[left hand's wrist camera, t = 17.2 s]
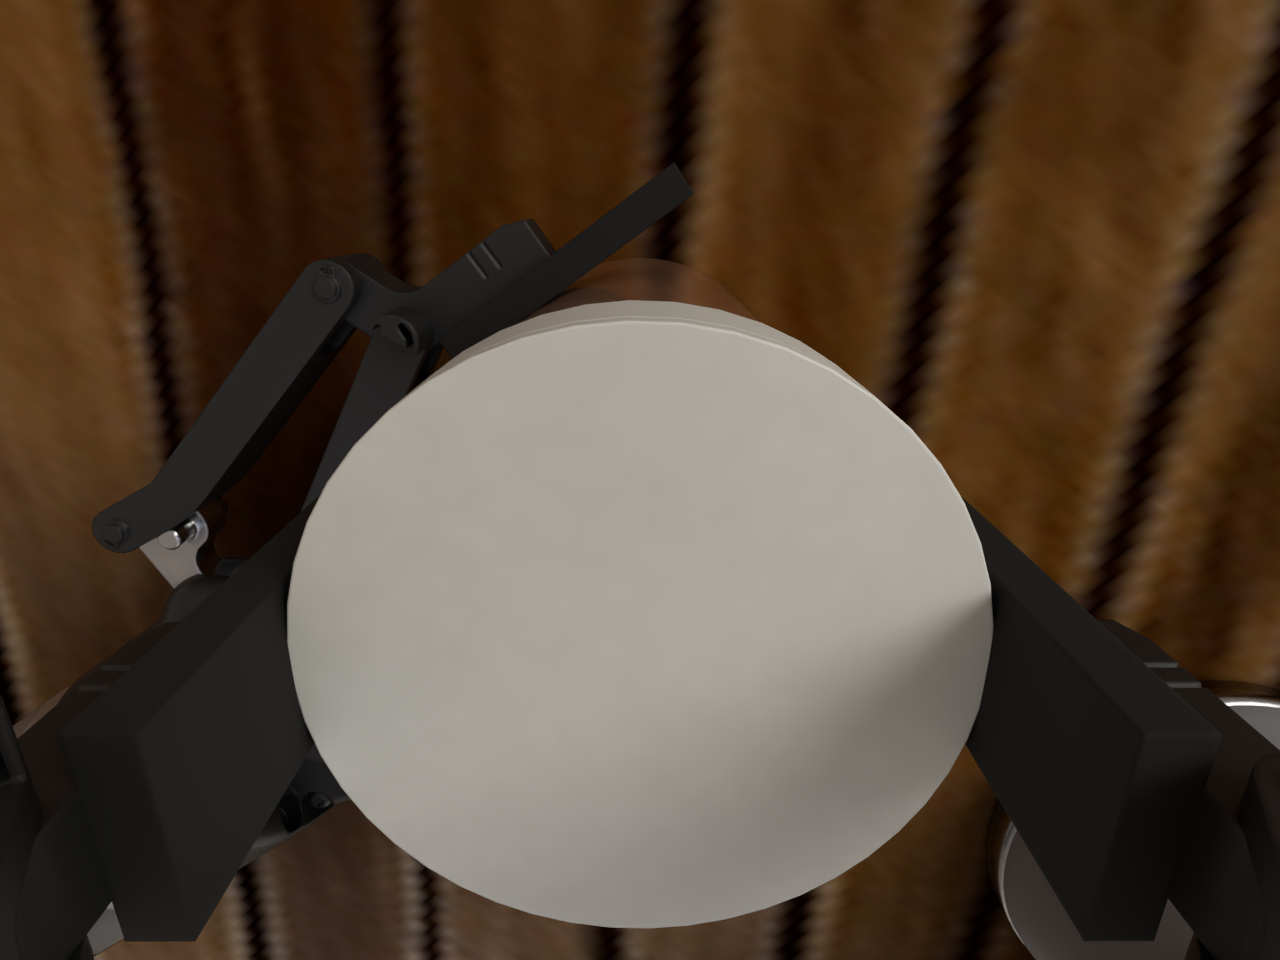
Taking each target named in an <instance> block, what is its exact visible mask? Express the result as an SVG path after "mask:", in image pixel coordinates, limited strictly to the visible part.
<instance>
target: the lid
mask: <svg viewBox="0 0 1280 960" xmlns="http://www.w3.org/2000/svg"><path fill="white" fill-rule="evenodd" d="M993 628H994V623H993V609H992V596H991V583H990V579H989V575H988V571H987V566H986V562H985V558H984V554H983V549H982V545H981V542H980V539H979V537H978V534H977V532H976V530H975V527H974V525H973V522H972V520H971V517H970V515H969V512H968V510H967V508H966V505H965V503H964V501H963V499H962V498H961V496H960V495H959V493H958V491H957V490H956V488H955V486H954V485H953V483H952V481H951V480H950V478H949V476H948V475H947V473H946V471H945V470H944V468H943V466H942V465H941V464H940V462H939V461H938V460H937V459H936V458H935V456H934V455H933V454H932V453H931V452H930V450H929V449H928V448H927V447H926V446H925V444H924V443H923V442H922V441H921V440H920V438H919V437H918V436H917V435H916V434H915V432H914V431H913V430H912V429H911V428H910V427H909V426H908V425H907V424H905V423H904V422H903V421H902V420H901V419H900V418H899V417H898V416H896V415H895V414H894V413H893V412H892V411H891V410H890V409H889V408H887V407H886V406H885V405H884V404H883V403H882V402H881V401H880V400H878V399H877V398H876V397H875V396H874V395H873V394H871V393H870V392H869V391H868V390H866V389H865V388H864V387H863V386H862V385H860V384H859V383H858V382H857V381H855V380H854V379H853V378H852V377H850V376H849V375H848V374H847V373H846V372H844V371H843V370H842V369H841V368H839V367H838V366H837V365H836V364H834V363H833V362H831V361H830V360H828V359H827V358H825V357H824V356H822V355H821V354H819V353H818V352H816V351H814V350H813V349H811V348H810V347H808V346H807V345H805V344H804V343H802V342H801V341H799V340H797V339H795V338H792V337H790V336H788V335H786V334H784V333H782V332H780V331H778V330H776V329H773V328H771V327H769V326H767V325H765V324H763V323H761V322H757V321H754V320H751V319H748V318H745V317H742V316H738V315H735V314H732V313H729V312H726V311H723V310H719V309H714V308H708V307H702V306H696V305H691V304H685V303H679V302H667V301H639V300H626V301H616V302H606V303H595V304H585V305H581V306H576V307H572V308H568V309H564V310H560V311H555V312H551V313H547V314H543V315H539V316H537V317H534V318H532V319H529V320H527V321H524V322H521V323H519V324H516V325H514V326H511V327H508V328H506V329H503V330H501V331H499V332H497V333H495V334H493V335H491V336H490V337H488V338H486V339H484V340H482V341H481V342H479V343H477V344H475V345H473V346H472V347H470V348H468V349H466V350H464V351H463V352H461V353H460V354H459V355H457V356H456V357H455V358H453V359H452V360H451V361H449V362H448V363H447V364H445V365H444V366H443V367H441V368H440V369H439V370H437V371H436V372H435V373H433V374H432V375H431V376H429V377H428V378H427V379H426V380H425V381H423V382H422V383H421V384H420V385H418V386H417V387H416V388H415V389H414V390H412V391H411V392H410V393H409V394H408V395H406V396H405V397H404V398H403V399H401V400H400V401H399V402H398V403H397V404H395V405H394V406H393V407H392V408H390V409H389V410H388V411H387V412H386V413H385V414H384V415H383V416H382V417H381V418H380V419H379V420H378V421H377V422H376V423H375V424H374V425H373V426H372V427H371V428H370V429H369V430H368V431H367V432H366V433H365V434H364V435H363V436H362V437H361V438H360V439H359V440H358V441H357V442H356V443H355V444H354V446H353V447H352V448H351V450H350V451H349V452H348V454H347V455H346V457H345V458H344V459H343V461H342V462H341V464H340V465H339V466H338V468H337V469H336V470H335V472H334V473H333V475H332V476H331V477H330V479H329V480H328V481H327V483H326V485H325V487H324V489H323V491H322V493H321V495H320V497H319V499H318V501H317V503H316V505H315V507H314V509H313V510H312V512H311V514H310V516H309V518H308V520H307V523H306V526H305V529H304V532H303V535H302V538H301V541H300V544H299V547H298V550H297V553H296V556H295V559H294V563H293V569H292V575H291V582H290V588H289V594H288V600H287V644H288V650H289V655H290V661H291V666H292V672H293V677H294V683H295V688H296V692H297V697H298V701H299V705H300V708H301V712H302V715H303V718H304V721H305V723H306V725H307V728H308V730H309V732H310V734H311V736H312V738H313V740H314V742H315V745H316V747H317V749H318V751H319V753H320V755H321V757H322V758H323V760H324V762H325V763H326V765H327V766H328V768H329V769H330V771H331V772H332V774H333V775H334V777H335V779H336V780H337V782H338V783H339V785H340V786H341V788H342V789H343V790H344V791H345V793H346V794H347V795H348V796H349V797H350V799H351V800H352V801H353V802H354V803H355V804H356V806H357V807H358V808H359V809H360V810H361V812H362V813H363V814H364V815H365V816H366V817H367V818H368V819H369V820H370V821H371V822H372V823H373V824H374V825H375V826H376V827H377V828H378V829H379V830H381V831H382V832H383V833H384V834H385V835H386V836H387V837H388V838H389V839H390V840H391V841H392V842H393V843H395V844H396V845H397V846H399V847H400V848H401V849H403V850H404V851H405V852H407V853H408V854H409V855H411V856H412V857H414V858H415V859H416V860H418V861H419V862H420V863H422V864H423V865H424V866H426V867H427V868H429V869H431V870H433V871H434V872H436V873H438V874H440V875H441V876H443V877H445V878H447V879H448V880H450V881H452V882H453V883H455V884H457V885H459V886H461V887H463V888H465V889H467V890H470V891H472V892H474V893H476V894H479V895H481V896H483V897H485V898H488V899H490V900H492V901H494V902H497V903H500V904H503V905H506V906H509V907H512V908H515V909H519V910H522V911H525V912H528V913H531V914H534V915H539V916H543V917H548V918H552V919H557V920H562V921H566V922H571V923H579V924H587V925H595V926H603V927H618V928H660V927H674V926H688V925H694V924H700V923H706V922H712V921H718V920H724V919H729V918H733V917H736V916H740V915H744V914H747V913H751V912H755V911H759V910H762V909H766V908H768V907H771V906H773V905H776V904H779V903H781V902H784V901H787V900H789V899H792V898H794V897H797V896H800V895H802V894H804V893H806V892H808V891H810V890H812V889H814V888H816V887H818V886H820V885H822V884H824V883H826V882H828V881H830V880H832V879H834V878H836V877H837V876H839V875H841V874H842V873H844V872H845V871H847V870H848V869H850V868H851V867H853V866H854V865H856V864H858V863H859V862H861V861H862V860H864V859H865V858H867V857H868V856H870V855H871V854H872V853H873V852H875V851H876V850H877V849H878V848H879V847H881V846H882V845H883V844H884V843H886V842H887V841H888V840H889V839H890V838H892V837H893V836H894V835H895V834H897V833H898V832H899V831H900V830H901V829H902V828H903V827H904V826H905V825H906V824H907V823H908V822H909V820H910V819H911V818H912V817H913V816H914V815H915V814H916V813H917V812H918V811H919V810H920V809H921V808H922V807H923V806H924V805H925V804H926V803H927V801H928V800H929V799H930V797H931V796H932V795H933V793H934V792H935V791H936V789H937V788H938V787H939V785H940V784H941V783H942V781H943V780H944V779H945V777H946V776H947V775H948V773H949V771H950V770H951V768H952V766H953V764H954V762H955V761H956V759H957V757H958V755H959V754H960V752H961V750H962V748H963V746H964V745H965V743H966V741H967V739H968V737H969V734H970V732H971V729H972V727H973V724H974V721H975V719H976V716H977V714H978V711H979V707H980V702H981V698H982V693H983V687H984V682H985V677H986V672H987V667H988V661H989V656H990V650H991V644H992V638H993Z"/></svg>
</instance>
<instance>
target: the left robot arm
mask: <svg viewBox="0 0 1280 960" xmlns="http://www.w3.org/2000/svg"><path fill="white" fill-rule="evenodd" d="M320 495H321V494H320ZM320 495H319V496H318V497H317V498H316V499H315V500H314V501H312V502H311V503H310V504H309V505H308V506H307V507H306V508H305V509H304V510H303V511H301V512H300V513H299V514H298V515H297V516H296V517H295V518H294V519H293V520H292V521H290V522H289V523H288V524H287V525H286V526H285V527H284V528H283V529H282V530H281V531H280V532H278V533H277V534H276V535H275V536H274V537H273V538H272V539H271V540H270V541H269V542H267V543H266V544H265V545H264V546H263V547H262V548H261V549H260V550H259V551H258V552H256V553H255V554H254V555H253V556H252V557H251V558H250V559H249V560H248V561H247V562H245V563H244V564H243V565H242V566H241V567H240V568H239V569H238V570H237V571H236V572H235V573H233V574H232V575H231V576H230V577H229V578H228V579H227V580H226V581H225V582H224V583H222V584H221V585H220V586H219V587H218V588H217V589H216V590H215V591H214V592H213V593H211V594H210V595H209V596H208V597H207V598H206V599H205V600H204V601H203V602H202V603H200V604H199V605H198V606H197V607H196V608H195V609H194V610H193V611H192V612H191V613H190V614H188V615H187V616H186V617H185V618H184V619H183V620H182V621H181V622H167V623H165V624H163V625H161V626H159V627H157V628H156V629H154V630H152V631H150V632H148V633H146V634H144V635H142V636H140V637H139V638H137V639H135V640H133V641H131V642H129V643H128V644H127V645H126V646H125V647H123V648H122V649H121V650H120V651H119V652H118V653H116V654H115V655H114V656H113V657H112V658H111V659H109V660H108V661H107V662H106V663H105V664H104V665H102V669H101V671H95V672H94V673H93V674H92V675H91V676H90V677H89V678H87V679H86V680H85V681H84V682H83V683H82V684H80V685H79V689H78V691H72V692H71V693H70V694H69V695H68V696H66V697H65V698H64V699H63V700H62V701H61V702H59V703H58V704H57V705H56V706H55V707H54V708H52V709H51V710H50V711H49V712H48V713H47V714H45V715H44V716H43V717H42V718H41V719H40V720H39V721H37V722H36V723H35V724H34V725H33V726H32V727H30V728H29V729H28V730H27V731H26V732H25V733H23V734H22V735H21V736H20V737H19V738H18V739H17V737H16V734H15V732H14V729H13V726H12V723H11V720H10V718H9V715H8V712H7V709H6V706H5V704H4V701H3V698H2V696H1V695H0V960H94V957H93V950H92V947H91V944H90V942H89V939H88V936H87V934H88V932H89V931H90V930H91V928H92V927H93V926H94V924H95V923H96V922H97V920H98V919H99V918H100V916H101V915H102V914H103V912H104V911H105V910H106V908H107V907H108V906H109V904H110V903H111V902H112V904H113V907H114V910H115V913H116V916H117V919H118V922H119V925H120V928H121V931H122V934H123V937H124V940H125V941H196V939H197V937H198V936H199V934H200V932H201V931H202V929H203V927H204V926H205V924H206V922H207V921H208V919H209V917H210V916H211V914H212V912H213V911H214V909H215V907H216V906H217V904H218V902H219V901H220V899H221V897H222V896H223V894H224V892H225V891H226V889H227V887H228V886H229V884H230V883H231V881H232V879H233V878H234V876H235V874H236V873H237V871H238V869H239V868H240V866H241V864H242V863H243V861H244V859H245V858H246V856H247V854H248V853H249V851H250V849H251V848H252V846H253V844H254V843H255V841H256V839H257V838H258V836H259V834H260V833H261V831H262V829H263V828H264V826H265V824H266V823H267V821H268V819H269V818H270V816H271V814H272V813H273V811H274V809H275V808H276V806H277V804H278V803H279V801H280V799H281V798H282V796H283V794H284V793H285V791H286V789H287V788H288V786H289V785H290V783H291V781H292V780H293V778H294V776H295V775H296V773H297V771H298V770H299V768H300V766H301V765H302V763H303V761H304V760H305V758H306V756H307V755H308V753H309V751H310V750H311V748H312V746H313V745H314V743H315V742H314V740H313V738H312V736H311V734H310V732H309V730H308V728H307V725H306V723H305V721H304V718H303V715H302V712H301V708H300V705H299V701H298V697H297V692H296V688H295V683H294V677H293V672H292V666H291V661H290V655H289V650H288V644H287V600H288V594H289V588H290V582H291V575H292V569H293V563H294V559H295V556H296V553H297V550H298V547H299V544H300V541H301V538H302V535H303V532H304V529H305V526H306V523H307V520H308V518H309V516H310V514H311V512H312V510H313V509H314V507H315V505H316V503H317V501H318V499H319V497H320ZM961 498H962V497H961ZM962 499H963V498H962ZM963 501H964V503H965V505H966V508H967V510H968V512H969V515H970V517H971V520H972V522H973V525H974V527H975V530H976V532H977V534H978V537H979V539H980V542H981V545H982V549H983V554H984V558H985V562H986V566H987V571H988V575H989V579H990V583H991V596H992V609H993V623H994V628H993V638H992V644H991V650H990V656H989V661H988V667H987V672H986V677H985V682H984V687H983V693H982V698H981V702H980V707H979V711H978V714H977V716H976V719H975V721H974V724H973V727H972V729H971V732H970V734H969V737H968V739H967V741H966V743H965V744H966V746H967V748H968V749H969V751H970V753H971V754H972V756H973V758H974V759H975V761H976V763H977V764H978V766H979V768H980V769H981V771H982V773H983V774H984V776H985V778H986V779H987V781H988V783H989V784H990V786H991V788H992V789H993V791H994V793H995V794H996V796H997V798H998V799H999V801H1000V803H999V805H998V807H997V809H996V811H995V814H994V817H993V820H992V823H991V826H990V830H989V836H988V841H987V868H988V873H989V878H990V881H991V884H992V887H993V890H994V892H995V894H996V896H997V898H998V900H999V902H1000V904H1001V906H1002V908H1003V910H1004V912H1005V914H1006V916H1007V918H1008V919H1009V921H1010V923H1011V925H1012V927H1013V929H1014V931H1015V933H1016V934H1017V935H1018V937H1019V938H1020V940H1021V941H1022V942H1023V944H1024V945H1025V946H1026V947H1027V949H1028V950H1029V952H1030V953H1031V954H1032V956H1033V957H1034V958H1035V959H1036V960H1280V690H1278V689H1274V688H1271V687H1267V686H1263V685H1258V684H1252V683H1246V682H1235V681H1198V680H1197V679H1196V678H1195V677H1194V676H1192V675H1191V674H1190V673H1189V672H1188V671H1187V670H1185V669H1184V668H1179V667H1178V663H1177V662H1176V661H1175V660H1174V659H1172V658H1171V657H1170V656H1169V655H1168V654H1167V653H1165V652H1164V651H1163V650H1162V649H1161V648H1160V647H1158V646H1157V645H1156V644H1155V643H1154V642H1153V641H1151V640H1150V639H1148V638H1146V637H1144V636H1142V635H1141V634H1139V633H1137V632H1135V631H1133V630H1131V629H1129V628H1127V627H1125V626H1123V625H1122V624H1120V623H1118V622H1116V621H1114V620H1096V619H1095V618H1094V617H1093V616H1092V615H1091V614H1090V613H1088V612H1087V611H1086V610H1085V609H1084V608H1083V607H1082V606H1081V605H1080V604H1079V603H1077V602H1076V601H1075V600H1074V599H1073V598H1072V597H1071V596H1070V595H1069V594H1068V593H1067V592H1065V591H1064V590H1063V589H1062V588H1061V587H1060V586H1059V585H1058V584H1057V583H1056V582H1054V581H1053V580H1052V579H1051V578H1050V577H1049V576H1048V575H1047V574H1046V573H1045V572H1043V571H1042V570H1041V569H1040V568H1039V567H1038V566H1037V565H1036V564H1035V563H1034V562H1033V561H1031V560H1030V559H1029V558H1028V557H1027V556H1026V555H1025V554H1024V553H1023V552H1022V551H1020V550H1019V549H1018V548H1017V547H1016V546H1015V545H1014V544H1013V543H1012V542H1011V541H1009V540H1008V539H1007V538H1006V537H1005V536H1004V535H1003V534H1002V533H1001V532H1000V531H998V530H997V529H996V528H995V527H994V526H993V525H992V524H991V523H990V522H989V521H988V520H986V519H985V518H984V517H983V516H982V515H981V514H980V513H979V512H978V511H977V510H975V509H974V508H973V507H972V506H971V505H970V504H969V503H968V502H967V501H966V500H964V499H963Z"/></svg>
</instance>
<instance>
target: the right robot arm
mask: <svg viewBox="0 0 1280 960" xmlns="http://www.w3.org/2000/svg"><path fill="white" fill-rule="evenodd" d="M693 194H694V193H693V191H692V190H691V188H690V187H689V185H688V183H687V182H686V180H685V179H684V177H683V176H682V174H681V172H680V171H679V169H678V168H677V166H676V164H675V163H673V164H672V165H670V166H669V167H668V168H666V169H665V170H664V171H662V172H661V173H660V174H658V175H657V176H656V177H654V178H653V179H652V180H650V181H649V182H648V183H646V184H645V185H644V186H642V187H641V188H640V189H638V190H637V191H636V192H634V193H633V194H632V195H630V196H629V197H628V198H626V199H625V200H624V201H622V202H621V203H620V204H618V205H617V206H616V207H615V208H613V209H612V210H611V211H609V212H608V213H607V214H605V215H604V216H603V217H601V218H600V219H599V220H597V221H596V222H595V223H593V224H592V225H591V226H589V227H588V228H587V229H585V230H584V231H583V232H581V233H580V234H579V235H577V236H576V237H575V238H573V239H572V240H571V241H569V242H568V243H567V244H565V245H564V246H563V247H561V248H560V249H559V250H557V251H555V249H554V248H553V246H552V245H551V244H550V242H549V241H548V239H547V238H546V236H545V235H544V234H543V232H542V231H541V229H540V228H539V227H538V225H537V224H536V222H535V221H534V220H533V219H528V220H522V221H519V222H515V223H511V224H507V225H503V226H501V227H499V228H498V229H497V230H496V231H494V232H493V233H492V234H490V235H489V236H488V237H487V238H485V239H484V240H483V241H482V242H480V243H479V244H478V245H476V246H475V247H474V248H472V249H471V250H470V251H469V252H467V253H466V254H465V255H463V256H462V257H461V258H459V259H458V260H457V261H456V262H454V263H453V264H452V265H450V266H449V267H448V268H447V269H445V270H444V271H443V272H441V273H440V274H439V275H438V276H436V277H435V278H434V279H432V280H431V281H430V282H429V283H427V284H426V285H425V286H423V287H416V286H412V285H409V284H407V283H405V282H403V281H401V280H400V279H398V278H397V277H395V276H394V275H392V274H391V273H389V272H388V271H386V270H385V268H384V266H383V265H382V264H381V262H380V261H379V260H378V259H376V258H375V257H373V256H371V255H370V254H364V253H357V254H351V255H345V256H339V257H333V258H328V259H322V260H318V261H315V262H312V263H311V264H309V265H308V266H307V267H306V268H305V269H304V270H303V272H302V273H301V274H300V276H299V277H298V279H297V280H296V281H295V283H294V284H293V286H292V287H291V288H290V290H289V291H288V293H287V294H286V295H285V297H284V298H283V300H282V301H281V302H280V304H279V305H278V307H277V308H276V309H275V311H274V312H273V314H272V315H271V316H270V318H269V319H268V321H267V322H266V323H265V325H264V326H263V328H262V329H261V330H260V332H259V333H258V335H257V336H256V337H255V339H254V340H253V342H252V343H251V344H250V346H249V347H248V349H247V350H246V351H245V353H244V354H243V356H242V357H241V358H240V360H239V361H238V363H237V364H236V365H235V367H234V368H233V370H232V371H231V372H230V374H229V375H228V377H227V378H226V379H225V381H224V382H223V384H222V385H221V386H220V388H219V389H218V391H217V392H216V393H215V395H214V396H213V398H212V399H211V400H210V402H209V403H208V405H207V406H206V407H205V409H204V410H203V412H202V413H201V414H200V416H199V417H198V419H197V420H196V421H195V423H194V424H193V426H192V427H191V428H190V430H189V431H188V433H187V434H186V435H185V437H184V438H183V440H182V441H181V442H180V444H179V445H178V447H177V448H176V449H175V451H174V452H173V454H172V455H171V456H170V458H169V459H168V461H167V462H166V463H165V465H164V466H163V468H162V469H161V470H160V472H159V473H158V475H157V476H156V477H155V479H154V480H153V482H152V483H151V484H149V485H147V486H145V487H144V488H142V489H140V490H138V491H137V492H135V493H133V494H131V495H130V496H128V497H126V498H124V499H123V500H121V501H119V502H117V503H116V504H114V505H112V506H110V507H109V508H107V509H105V510H103V511H102V512H100V513H99V514H98V515H97V516H96V517H95V518H94V520H93V523H92V530H93V534H94V536H95V538H96V539H97V541H98V542H99V543H100V544H101V545H102V546H103V547H105V548H106V549H108V550H111V551H113V552H117V553H127V552H130V551H133V550H135V549H137V548H138V547H139V548H140V549H141V550H142V552H143V553H144V554H145V555H146V556H147V558H148V559H149V560H150V561H151V562H152V563H153V565H154V566H155V567H156V568H157V569H158V570H159V572H160V573H161V574H162V575H163V576H164V578H165V579H166V580H167V581H168V582H169V583H170V585H171V586H172V587H173V588H174V590H173V591H172V592H171V594H170V596H169V598H168V600H167V604H166V608H165V611H164V614H163V616H162V618H161V619H159V620H158V621H157V622H155V623H154V624H152V625H151V626H150V627H148V628H147V629H146V630H144V631H143V632H141V633H140V634H139V635H137V636H136V637H135V638H133V639H132V640H131V641H133V640H135V639H137V638H139V637H140V636H142V635H144V634H146V633H148V632H150V631H152V630H154V629H156V628H157V627H159V626H161V625H163V624H165V623H167V622H181V621H182V620H183V619H184V618H185V617H186V616H187V615H188V614H190V613H191V612H192V611H193V610H194V609H195V608H196V607H197V606H198V605H199V604H200V603H202V602H203V601H204V600H205V599H206V598H207V597H208V596H209V595H210V594H211V593H213V592H214V591H215V590H216V589H217V588H218V587H219V586H220V585H221V584H222V583H224V582H225V581H226V580H227V579H228V578H229V577H230V576H231V575H232V574H233V573H235V572H236V571H237V570H238V569H239V568H240V567H241V566H242V565H243V564H244V563H245V562H247V561H248V560H249V559H250V558H240V557H225V558H219V557H218V555H217V554H216V552H215V549H214V539H215V537H216V535H217V534H218V533H219V532H220V531H221V529H222V528H223V527H224V525H225V523H226V515H225V513H226V511H227V510H228V504H227V502H226V500H225V499H223V498H222V497H220V495H222V494H223V493H225V492H226V491H227V490H229V489H230V488H232V487H233V486H234V485H235V484H236V483H237V482H239V481H240V480H241V479H242V478H243V477H244V476H245V475H246V473H247V472H248V471H249V470H250V469H251V468H252V466H253V465H254V464H255V463H256V461H257V460H258V459H259V457H260V456H261V455H262V453H263V452H264V451H265V449H266V448H267V447H268V445H269V444H270V443H271V441H272V440H273V439H274V437H275V436H276V435H277V434H278V432H279V431H280V430H281V428H282V427H283V426H284V424H285V423H286V422H287V420H288V419H289V418H290V416H291V415H292V414H293V412H294V411H295V410H296V408H297V407H298V406H299V405H300V403H301V402H302V401H303V399H304V398H305V397H306V395H307V394H308V393H309V391H310V390H311V389H312V387H313V386H314V385H315V383H316V382H317V381H318V379H319V378H320V377H321V376H322V374H323V373H324V372H325V370H326V369H327V368H328V366H329V365H330V364H331V362H332V361H333V360H334V358H335V357H336V356H337V354H338V353H339V352H340V350H341V349H342V348H343V346H344V345H345V344H346V343H347V341H348V340H349V339H350V337H351V336H352V335H353V333H354V332H355V331H356V329H357V328H358V329H359V330H361V331H362V332H364V333H365V334H367V335H369V336H370V337H372V338H371V340H370V343H369V345H368V348H367V350H366V353H365V355H364V358H363V360H362V362H361V365H360V367H359V370H358V372H357V375H356V377H355V380H354V382H353V385H352V387H351V389H350V392H349V394H348V397H347V399H346V402H345V404H344V407H343V409H342V411H341V414H340V416H339V419H338V421H337V424H336V426H335V429H334V431H333V434H332V436H331V438H330V441H329V443H328V446H327V448H326V451H325V453H324V456H323V458H322V461H321V463H320V465H319V468H318V470H317V473H316V475H315V478H314V480H313V483H312V485H311V488H310V490H309V492H308V495H307V497H306V500H305V502H304V505H303V507H302V510H301V511H303V510H304V509H305V508H306V507H307V506H308V505H309V504H310V503H311V502H312V501H314V500H315V499H316V498H317V497H318V496H319V495H320V494H321V493H322V491H323V489H324V487H325V485H326V483H327V481H328V480H329V479H330V477H331V476H332V475H333V473H334V472H335V470H336V469H337V468H338V466H339V465H340V464H341V462H342V461H343V459H344V458H345V457H346V455H347V454H348V452H349V451H350V450H351V448H352V447H353V446H354V444H355V443H356V442H357V441H358V440H359V439H360V438H361V437H362V436H363V435H364V434H365V433H366V432H367V431H368V430H369V429H370V428H371V427H372V426H373V425H374V424H375V423H376V422H377V421H378V420H379V419H380V418H381V417H382V416H383V415H384V414H385V413H386V412H387V411H388V410H389V409H390V408H392V407H393V406H394V405H395V404H397V403H398V402H399V401H400V400H401V399H403V398H404V397H405V396H406V395H408V394H409V393H410V392H411V391H412V390H414V389H415V388H416V387H417V386H418V385H420V384H421V383H422V382H423V381H425V380H426V379H427V378H428V377H429V376H431V375H432V373H433V371H434V369H435V366H436V364H437V362H438V360H439V357H440V355H441V353H442V351H443V348H445V349H446V351H447V352H448V353H449V354H450V356H451V357H452V358H455V357H456V356H457V355H459V354H460V353H461V352H463V351H464V350H466V349H468V348H470V347H472V346H473V345H475V344H477V343H479V342H481V341H482V340H484V339H486V338H488V337H490V336H491V335H493V334H495V333H497V332H499V331H501V330H503V329H506V328H508V327H511V326H514V325H516V324H518V323H520V322H521V321H522V320H524V319H525V318H526V317H528V316H529V315H531V314H532V313H533V312H535V311H536V310H537V309H539V308H540V307H541V306H543V305H544V304H545V303H547V302H548V301H549V300H551V299H552V298H554V297H555V296H556V295H558V294H559V293H560V292H562V291H563V290H564V289H566V288H567V287H568V286H570V285H571V284H572V283H574V282H575V281H577V280H578V279H579V278H581V277H582V276H583V275H585V274H586V273H587V272H589V271H590V270H591V269H593V268H594V267H595V266H597V265H598V264H600V263H601V262H602V261H604V260H605V259H606V258H608V257H609V256H610V255H612V254H613V253H614V252H616V251H617V250H618V249H620V248H621V247H623V246H624V245H625V244H627V243H628V242H629V241H631V240H632V239H633V238H635V237H636V236H637V235H639V234H640V233H641V232H643V231H644V230H646V229H647V228H648V227H650V226H651V225H652V224H654V223H655V222H656V221H658V220H659V219H660V218H662V217H663V216H664V215H666V214H667V213H669V212H670V211H671V210H673V209H674V208H675V207H677V206H678V205H679V204H681V203H682V202H683V201H685V200H686V199H687V198H689V197H690V196H692V195H693ZM131 641H129V642H131ZM129 642H128V643H129ZM128 643H126V644H125V645H124V646H122V647H121V648H120V649H118V650H117V651H115V652H114V653H113V654H111V655H110V656H109V657H107V658H106V659H104V660H103V661H102V662H100V663H99V664H98V665H96V666H95V667H94V668H92V669H91V670H89V671H88V672H87V673H85V674H84V675H83V676H81V677H80V678H79V679H78V680H77V681H76V682H75V683H74V684H73V685H71V686H69V687H66V688H65V689H63V690H62V691H61V692H59V693H58V694H56V695H55V696H54V697H52V698H51V699H50V700H48V701H47V702H45V703H44V704H43V705H41V706H40V707H38V708H37V709H36V710H34V711H33V712H32V713H30V714H29V715H27V716H26V717H25V718H23V719H22V720H21V721H19V722H18V723H16V724H15V725H14V726H13V729H14V732H15V734H16V737H17V739H18V738H19V737H20V736H21V735H22V734H23V733H25V732H26V731H27V730H28V729H29V728H30V727H32V726H33V725H34V724H35V723H36V722H37V721H39V720H40V719H41V718H42V717H43V716H44V715H45V714H47V713H48V712H49V711H50V710H51V709H52V708H54V707H55V706H56V705H57V704H58V703H59V702H61V701H62V700H63V699H64V698H65V697H66V696H68V695H69V694H70V693H71V692H72V691H78V689H79V685H80V684H82V683H83V682H84V681H85V680H86V679H87V678H89V677H90V676H91V675H92V674H93V673H94V672H95V671H101V669H102V665H104V664H105V663H106V662H107V661H108V660H109V659H111V658H112V657H113V656H114V655H115V654H116V653H118V652H119V651H120V650H121V649H122V648H123V647H125V646H126V645H127V644H128ZM348 800H351V799H350V797H349V796H348V795H347V794H346V793H345V791H344V790H343V789H342V788H341V786H340V785H339V783H338V782H337V780H336V779H335V777H334V775H333V774H332V772H331V771H330V769H329V768H328V766H327V765H326V763H325V762H324V760H323V758H322V757H321V755H320V753H319V751H318V749H317V747H316V745H315V743H314V745H313V746H312V748H311V750H310V751H309V753H308V755H307V756H306V758H305V760H304V761H303V763H302V765H301V766H300V768H299V770H298V771H297V773H296V775H295V776H294V778H293V780H292V781H291V783H290V785H289V786H288V788H287V789H286V791H285V793H284V794H283V796H282V798H281V799H280V801H279V803H278V804H277V806H276V808H275V809H274V811H273V813H272V814H271V816H270V818H269V819H268V821H267V823H266V824H265V826H264V828H263V829H262V831H261V833H260V834H259V836H258V838H257V839H256V841H255V843H254V844H253V846H252V848H251V849H250V851H249V853H248V854H247V856H246V858H245V859H244V861H243V863H242V864H241V866H240V868H242V867H244V866H245V865H247V864H248V863H250V862H252V861H253V860H255V859H257V858H258V857H260V856H262V855H263V854H265V853H267V852H268V851H270V850H271V849H273V848H275V847H276V846H278V845H280V844H281V843H283V842H285V841H286V840H288V839H289V838H291V837H293V836H294V835H296V834H297V833H299V832H300V831H302V830H303V829H305V828H306V827H308V826H309V825H310V824H312V823H313V822H314V821H315V820H317V819H318V818H319V817H321V816H322V815H323V814H324V813H326V812H327V811H328V810H329V809H331V808H332V807H334V806H335V805H337V804H338V803H341V802H344V801H348ZM240 868H239V869H240ZM239 869H238V870H239ZM87 936H88V939H89V942H90V944H91V947H92V950H93V957H94V956H96V955H97V954H99V953H101V952H103V951H104V950H106V949H108V948H109V947H111V946H113V945H114V944H116V943H118V942H119V941H121V940H122V939H124V937H123V934H122V931H121V928H120V925H119V922H118V919H117V916H116V913H115V910H114V907H113V904H112V902H111V903H110V904H109V906H108V907H107V908H106V910H105V911H104V912H103V914H102V915H101V916H100V918H99V919H98V920H97V922H96V923H95V924H94V926H93V927H92V928H91V930H90V931H89V932H88V934H87Z"/></svg>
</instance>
